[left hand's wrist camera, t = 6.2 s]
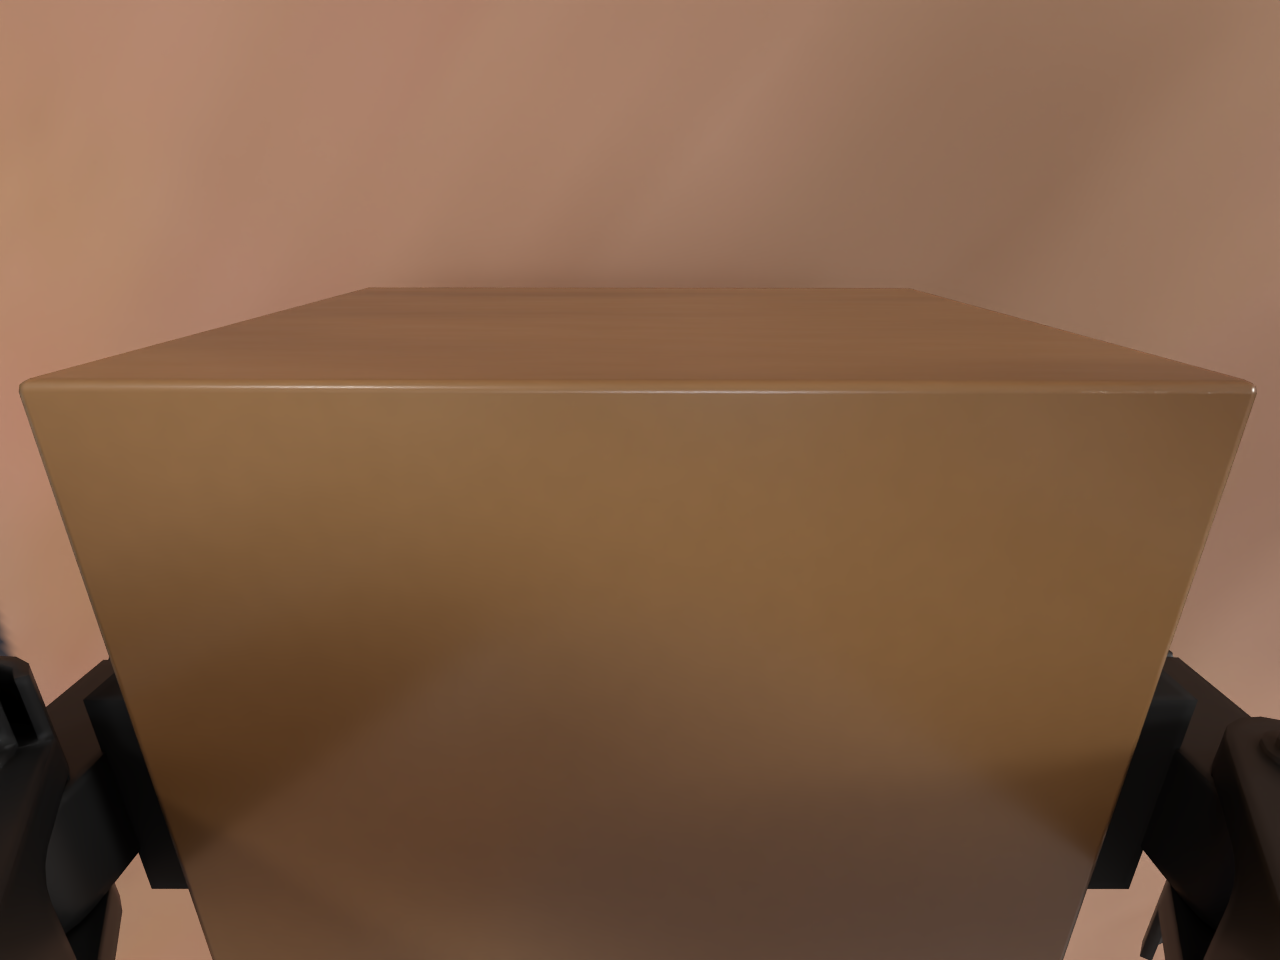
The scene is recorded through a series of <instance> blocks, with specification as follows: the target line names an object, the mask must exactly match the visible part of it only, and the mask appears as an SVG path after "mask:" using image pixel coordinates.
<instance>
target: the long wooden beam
mask: <svg viewBox="0 0 1280 960" xmlns="http://www.w3.org/2000/svg"><path fill="white" fill-rule="evenodd" d="M19 394H20V397H21V400H22V403H23V406H24V409H25V412H26V415H27V417H28V420H29V423H30V426H31V429H32V432H33V435H34V438H35V441H36V444H37V447H38V450H39V453H40V456H41V458H42V461H43V464H44V467H45V470H46V473H47V476H48V479H49V482H50V485H51V488H52V491H53V494H54V497H55V499H56V502H57V505H58V508H59V511H60V514H61V517H62V520H63V523H64V526H65V529H66V532H67V535H68V537H69V540H70V543H71V546H72V549H73V552H74V555H75V558H76V561H77V564H78V567H79V570H80V573H81V576H82V578H83V581H84V584H85V587H86V590H87V593H88V596H89V599H90V602H91V605H92V608H93V611H94V614H95V617H96V619H97V622H98V625H99V628H100V631H101V634H102V637H103V640H104V643H105V646H106V649H107V652H108V655H109V658H110V660H111V663H112V666H113V669H114V672H115V675H116V678H117V681H118V684H119V687H120V690H121V693H122V696H123V698H124V701H125V704H126V707H127V710H128V713H129V716H130V719H131V722H132V725H133V728H134V731H135V734H136V737H137V739H138V742H139V745H140V748H141V751H142V754H143V757H144V760H145V763H146V766H147V769H148V772H149V775H150V778H151V780H152V783H153V786H154V789H155V792H156V795H157V798H158V801H159V804H160V807H161V810H162V813H163V816H164V819H165V821H166V824H167V827H168V830H169V833H170V836H171V839H172V842H173V845H174V848H175V851H176V854H177V857H178V859H179V862H180V865H181V868H182V871H183V874H184V877H185V880H186V883H187V886H188V889H189V892H190V895H191V898H192V900H193V903H194V906H195V909H196V912H197V915H198V918H199V921H200V924H201V927H202V930H203V933H204V936H205V939H206V941H207V944H208V947H209V950H210V953H211V956H212V959H213V960H1063V958H1064V955H1065V952H1066V949H1067V946H1068V944H1069V941H1070V938H1071V935H1072V932H1073V929H1074V926H1075V923H1076V920H1077V917H1078V914H1079V911H1080V908H1081V906H1082V903H1083V900H1084V897H1085V894H1086V891H1087V888H1088V885H1089V882H1090V879H1091V876H1092V873H1093V870H1094V868H1095V865H1096V862H1097V859H1098V856H1099V853H1100V850H1101V847H1102V844H1103V841H1104V838H1105V835H1106V832H1107V830H1108V827H1109V824H1110V821H1111V818H1112V815H1113V812H1114V809H1115V806H1116V803H1117V800H1118V797H1119V794H1120V792H1121V789H1122V786H1123V783H1124V780H1125V777H1126V774H1127V771H1128V768H1129V765H1130V762H1131V759H1132V756H1133V754H1134V751H1135V748H1136V745H1137V742H1138V739H1139V736H1140V733H1141V730H1142V727H1143V724H1144V721H1145V718H1146V716H1147V713H1148V710H1149V707H1150V704H1151V701H1152V698H1153V695H1154V692H1155V689H1156V686H1157V683H1158V680H1159V678H1160V675H1161V672H1162V669H1163V666H1164V663H1165V660H1166V657H1167V654H1168V651H1169V648H1170V645H1171V642H1172V640H1173V637H1174V634H1175V631H1176V628H1177V625H1178V622H1179V619H1180V616H1181V613H1182V610H1183V607H1184V604H1185V602H1186V599H1187V596H1188V593H1189V590H1190V587H1191V584H1192V581H1193V578H1194V575H1195V572H1196V569H1197V566H1198V564H1199V561H1200V558H1201V555H1202V552H1203V549H1204V546H1205V543H1206V540H1207V537H1208V534H1209V531H1210V528H1211V526H1212V523H1213V520H1214V517H1215V514H1216V511H1217V508H1218V505H1219V502H1220V499H1221V496H1222V493H1223V490H1224V488H1225V485H1226V482H1227V479H1228V476H1229V473H1230V470H1231V467H1232V464H1233V461H1234V458H1235V455H1236V452H1237V450H1238V447H1239V444H1240V441H1241V438H1242V435H1243V432H1244V429H1245V426H1246V423H1247V420H1248V417H1249V414H1250V412H1251V409H1252V406H1253V403H1254V400H1255V397H1256V394H1257V393H1256V386H1255V385H1253V384H1252V383H1250V382H1248V381H1246V380H1243V379H1240V378H1236V377H1232V376H1229V375H1225V374H1221V373H1218V372H1214V371H1210V370H1207V369H1203V368H1199V367H1196V366H1192V365H1188V364H1185V363H1181V362H1177V361H1174V360H1170V359H1166V358H1163V357H1159V356H1155V355H1152V354H1148V353H1144V352H1141V351H1137V350H1133V349H1130V348H1126V347H1122V346H1119V345H1115V344H1111V343H1108V342H1104V341H1100V340H1097V339H1093V338H1089V337H1086V336H1082V335H1078V334H1075V333H1071V332H1067V331H1064V330H1060V329H1056V328H1053V327H1049V326H1045V325H1042V324H1038V323H1035V322H1031V321H1027V320H1024V319H1020V318H1016V317H1013V316H1009V315H1005V314H1002V313H998V312H994V311H991V310H987V309H983V308H980V307H976V306H972V305H969V304H965V303H961V302H958V301H954V300H950V299H947V298H943V297H939V296H936V295H932V294H928V293H925V292H921V291H917V290H914V289H910V288H365V289H362V290H358V291H354V292H351V293H347V294H343V295H339V296H336V297H332V298H328V299H324V300H321V301H317V302H313V303H310V304H306V305H302V306H298V307H295V308H291V309H287V310H283V311H280V312H276V313H272V314H269V315H265V316H261V317H257V318H254V319H250V320H246V321H242V322H239V323H235V324H231V325H227V326H224V327H220V328H216V329H213V330H209V331H205V332H201V333H198V334H194V335H190V336H186V337H183V338H179V339H175V340H172V341H168V342H164V343H160V344H157V345H153V346H149V347H145V348H142V349H138V350H134V351H131V352H127V353H123V354H119V355H116V356H112V357H108V358H104V359H101V360H97V361H93V362H89V363H86V364H82V365H78V366H75V367H71V368H67V369H63V370H60V371H56V372H52V373H48V374H45V375H41V376H37V377H34V378H30V379H28V380H26V381H24V382H22V383H21V384H20V385H19Z"/></svg>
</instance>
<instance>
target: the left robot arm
mask: <svg viewBox="0 0 1280 960" xmlns="http://www.w3.org/2000/svg"><path fill="white" fill-rule="evenodd" d="M1143 850H1144V852H1145V853H1146V854H1147V855H1148V857H1149V858H1150V859H1151V860H1152V862H1153V863H1154V864H1155V865H1156V867H1157V868H1158V869H1159V870H1160V872H1161V873H1162V874H1163V876H1164V877H1165V878H1166V879H1167V880H1166V883H1165V885H1164V888H1163V890H1162V893H1161V895H1160V898H1159V900H1158V903H1157V905H1156V908H1155V911H1154V913H1153V916H1152V918H1151V921H1150V923H1149V926H1148V928H1147V931H1146V933H1145V936H1144V939H1143V942H1142V947H1141V953H1140V956H1141V957H1143V958H1145V959H1148V960H1152V959H1153V956H1154V954H1155V951H1156V949H1157V946H1158V945H1159V944H1161V943H1163V947H1164V954H1165V960H1280V720H1276V719H1271V718H1265V717H1250V716H1249V715H1248V714H1247V713H1245V712H1244V711H1243V710H1242V709H1241V708H1239V707H1238V706H1237V705H1236V704H1234V703H1233V702H1232V701H1231V700H1230V699H1228V698H1227V697H1226V696H1225V695H1223V694H1222V693H1221V692H1220V691H1219V690H1217V689H1216V688H1215V687H1214V686H1212V685H1211V684H1210V683H1209V682H1208V681H1206V680H1205V679H1204V678H1203V677H1201V676H1200V675H1199V674H1198V673H1197V672H1195V671H1194V670H1193V669H1192V668H1190V667H1189V666H1188V665H1187V664H1186V663H1184V662H1183V661H1182V660H1181V659H1179V658H1174V657H1173V655H1172V652H1171V651H1170V650H1169V651H1168V654H1167V657H1166V660H1165V663H1164V666H1163V669H1162V672H1161V675H1160V678H1159V680H1158V683H1157V686H1156V689H1155V692H1154V695H1153V698H1152V701H1151V704H1150V707H1149V710H1148V713H1147V716H1146V718H1145V721H1144V724H1143V727H1142V730H1141V733H1140V736H1139V739H1138V742H1137V745H1136V748H1135V751H1134V754H1133V756H1132V759H1131V762H1130V765H1129V768H1128V771H1127V774H1126V777H1125V780H1124V783H1123V786H1122V789H1121V792H1120V794H1119V797H1118V800H1117V803H1116V806H1115V809H1114V812H1113V815H1112V818H1111V821H1110V824H1109V827H1108V830H1107V832H1106V835H1105V838H1104V841H1103V844H1102V847H1101V850H1100V853H1099V856H1098V859H1097V862H1096V865H1095V868H1094V870H1093V873H1092V876H1091V879H1090V882H1089V885H1088V888H1087V889H1129V887H1130V884H1131V881H1132V879H1133V876H1134V873H1135V870H1136V868H1137V865H1138V862H1139V860H1140V857H1141V854H1142V851H1143ZM138 852H139V855H140V858H141V860H142V863H143V866H144V869H145V871H146V874H147V877H148V880H149V882H150V885H151V888H152V889H188V886H187V883H186V880H185V877H184V874H183V871H182V868H181V865H180V862H179V859H178V857H177V854H176V851H175V848H174V845H173V842H172V839H171V836H170V833H169V830H168V827H167V824H166V821H165V819H164V816H163V813H162V810H161V807H160V804H159V801H158V798H157V795H156V792H155V789H154V786H153V783H152V780H151V778H150V775H149V772H148V769H147V766H146V763H145V760H144V757H143V754H142V751H141V748H140V745H139V742H138V739H137V737H136V734H135V731H134V728H133V725H132V722H131V719H130V716H129V713H128V710H127V707H126V704H125V701H124V698H123V696H122V693H121V690H120V687H119V684H118V681H117V678H116V675H115V672H114V669H113V666H112V663H111V660H110V658H109V659H108V660H103V661H101V662H100V663H99V664H98V665H97V666H95V667H94V668H93V669H92V670H91V671H89V672H88V673H87V674H86V675H84V676H83V677H82V678H81V679H80V680H78V681H77V682H76V683H75V684H74V685H72V686H71V687H70V688H69V689H68V690H66V691H65V692H64V693H63V694H61V695H60V696H59V697H58V698H57V699H55V700H54V701H53V702H52V703H51V704H49V705H48V706H47V707H45V704H44V701H43V699H42V696H41V694H40V691H39V689H38V686H37V684H36V681H35V679H34V676H33V673H32V671H31V668H30V666H29V663H27V662H25V661H23V660H21V659H19V658H17V657H8V656H0V960H115V957H116V950H117V943H118V936H119V929H120V923H121V916H122V906H121V900H120V895H119V893H118V890H117V888H116V885H115V881H116V880H117V879H118V878H119V876H120V875H121V874H122V873H123V871H124V870H125V869H126V867H127V866H128V865H129V864H130V862H131V861H132V860H133V859H134V857H135V856H136V855H137V854H138Z"/></svg>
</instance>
